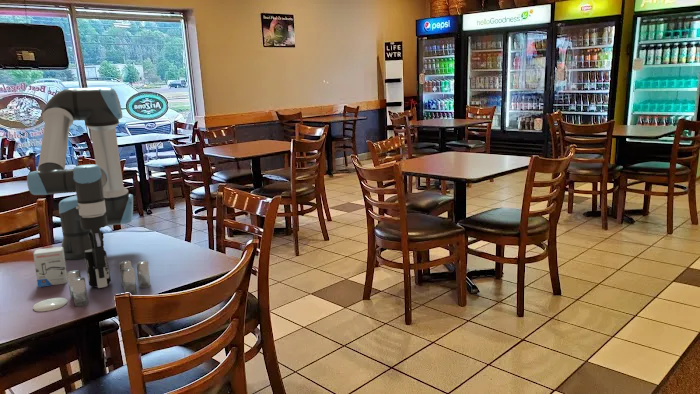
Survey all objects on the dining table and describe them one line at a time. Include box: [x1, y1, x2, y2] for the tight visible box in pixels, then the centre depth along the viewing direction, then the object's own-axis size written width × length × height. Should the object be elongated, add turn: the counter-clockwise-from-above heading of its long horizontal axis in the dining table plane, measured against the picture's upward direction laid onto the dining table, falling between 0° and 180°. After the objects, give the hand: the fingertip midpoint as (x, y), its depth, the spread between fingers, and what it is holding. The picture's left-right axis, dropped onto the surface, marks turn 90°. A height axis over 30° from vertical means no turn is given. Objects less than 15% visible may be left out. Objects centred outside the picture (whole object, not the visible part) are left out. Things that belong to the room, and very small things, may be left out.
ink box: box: [33, 246, 68, 288], centre depth 173 cm, size 9×5×12 cm, turn 114°
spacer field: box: [67, 260, 151, 308], centre depth 163 cm, size 12×23×8 cm, turn 123°
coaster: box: [32, 297, 68, 313], centre depth 156 cm, size 9×9×1 cm
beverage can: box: [83, 249, 112, 288], centre depth 169 cm, size 7×7×12 cm
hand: (102, 286), depth 165 cm, fingers closed
